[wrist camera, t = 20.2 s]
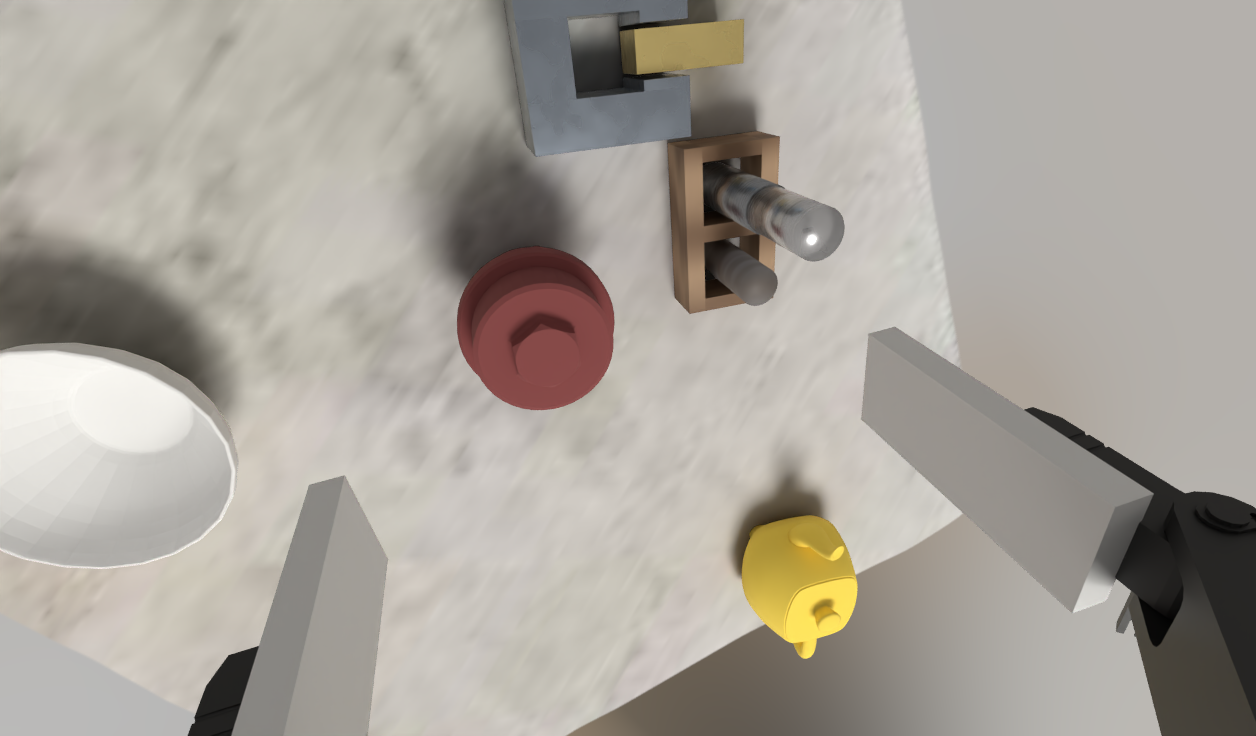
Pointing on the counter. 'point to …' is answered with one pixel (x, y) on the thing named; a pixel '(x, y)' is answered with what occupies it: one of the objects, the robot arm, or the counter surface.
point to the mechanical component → (536, 327)
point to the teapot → (799, 579)
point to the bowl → (106, 457)
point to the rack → (719, 226)
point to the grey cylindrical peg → (773, 211)
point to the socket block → (595, 116)
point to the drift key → (682, 47)
